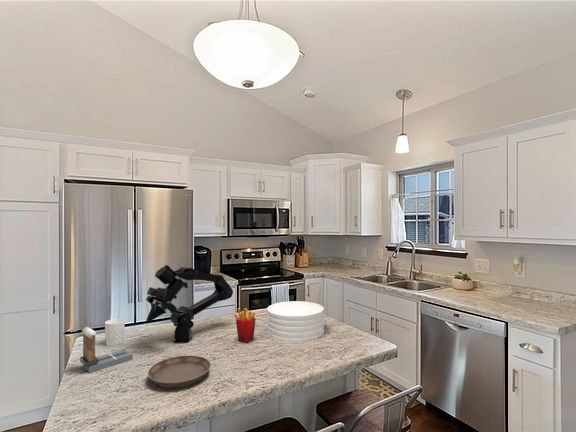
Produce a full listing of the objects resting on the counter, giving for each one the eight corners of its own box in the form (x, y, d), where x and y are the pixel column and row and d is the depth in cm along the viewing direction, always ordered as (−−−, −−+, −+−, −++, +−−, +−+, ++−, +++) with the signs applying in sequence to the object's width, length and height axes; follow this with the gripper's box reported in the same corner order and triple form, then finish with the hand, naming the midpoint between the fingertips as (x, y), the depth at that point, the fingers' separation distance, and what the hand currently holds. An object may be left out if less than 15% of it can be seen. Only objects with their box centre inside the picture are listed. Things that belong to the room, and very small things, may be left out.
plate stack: (333, 327, 161) (333, 305, 161) (306, 346, 137) (306, 319, 137) (287, 319, 176) (286, 298, 176) (255, 334, 152) (255, 310, 152)
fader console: (124, 354, 130) (124, 348, 130) (132, 359, 125) (132, 354, 125) (82, 366, 119) (82, 360, 119) (89, 372, 114) (89, 367, 114)
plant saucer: (219, 365, 119) (219, 356, 119) (193, 395, 98) (193, 384, 98) (169, 362, 123) (169, 353, 123) (134, 389, 102) (134, 379, 102)
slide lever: (92, 358, 121) (92, 325, 121) (98, 363, 116) (98, 329, 117) (80, 361, 118) (80, 328, 118) (85, 367, 113) (85, 332, 114)
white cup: (104, 348, 137) (104, 324, 137) (105, 342, 144) (105, 320, 144) (124, 344, 141) (124, 322, 141) (124, 339, 148) (124, 317, 148)
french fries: (245, 336, 149) (245, 304, 149) (259, 340, 144) (258, 307, 144) (232, 342, 141) (231, 309, 142) (246, 346, 137) (245, 311, 137)
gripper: (149, 277, 144) (124, 307, 136) (169, 282, 131) (142, 315, 123) (166, 291, 149) (143, 321, 141) (186, 297, 137) (162, 330, 128)
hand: (147, 321), depth 133 cm, fingers closed
